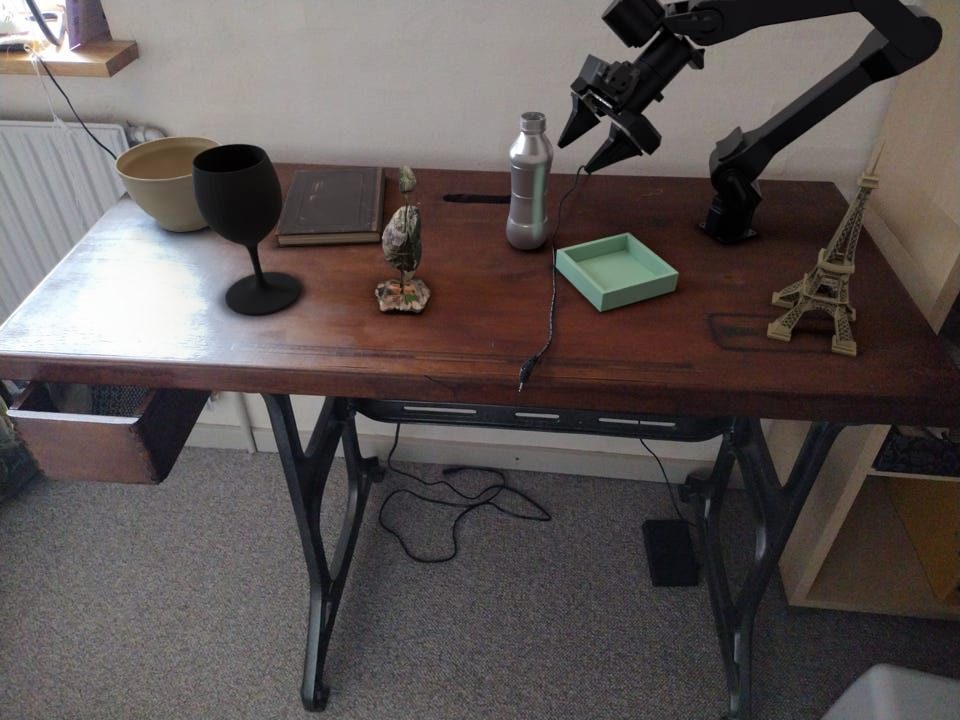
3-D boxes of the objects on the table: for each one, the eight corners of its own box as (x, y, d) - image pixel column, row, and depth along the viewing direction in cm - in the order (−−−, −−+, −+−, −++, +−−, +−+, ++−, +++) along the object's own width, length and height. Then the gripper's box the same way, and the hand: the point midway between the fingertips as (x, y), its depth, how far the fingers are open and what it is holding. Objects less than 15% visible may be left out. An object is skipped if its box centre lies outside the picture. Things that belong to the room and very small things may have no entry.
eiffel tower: (766, 336, 87) (832, 150, 71) (773, 293, 94) (833, 116, 78) (855, 356, 84) (945, 166, 67) (854, 310, 91) (935, 129, 75)
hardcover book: (277, 247, 104) (274, 234, 102) (297, 181, 121) (295, 169, 120) (381, 243, 105) (380, 230, 103) (386, 179, 122) (384, 167, 121)
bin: (625, 249, 103) (628, 232, 101) (675, 290, 95) (679, 272, 93) (555, 267, 99) (556, 249, 98) (600, 312, 91) (603, 293, 89)
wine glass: (234, 324, 89) (192, 183, 76) (218, 285, 96) (178, 150, 83) (310, 303, 92) (283, 165, 79) (290, 267, 99) (262, 135, 87)
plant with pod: (441, 274, 98) (435, 141, 85) (422, 320, 89) (412, 180, 76) (387, 269, 99) (373, 137, 86) (363, 313, 90) (344, 174, 78)
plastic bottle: (499, 250, 103) (502, 121, 90) (514, 230, 108) (519, 104, 95) (539, 258, 101) (548, 128, 88) (552, 237, 106) (562, 111, 93)
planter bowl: (118, 241, 105) (92, 175, 98) (167, 194, 117) (147, 133, 110) (216, 247, 104) (197, 181, 97) (255, 199, 116) (240, 138, 109)
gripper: (588, 15, 95) (513, 102, 100) (656, 52, 82) (566, 151, 86) (629, 68, 102) (558, 147, 107) (698, 109, 89) (613, 198, 93)
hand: (572, 158), depth 98 cm, fingers open, 9 cm apart
